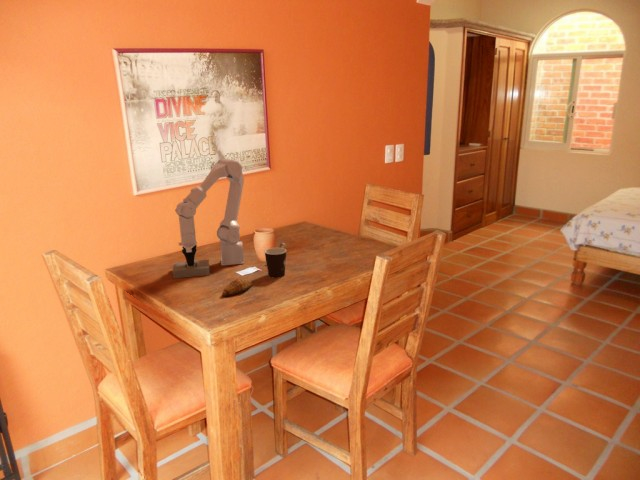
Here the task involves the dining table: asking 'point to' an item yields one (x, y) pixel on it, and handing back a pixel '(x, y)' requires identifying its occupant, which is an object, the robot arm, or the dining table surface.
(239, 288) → the croissant
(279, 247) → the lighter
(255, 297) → the dining table surface
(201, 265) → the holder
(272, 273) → the coffee mug
